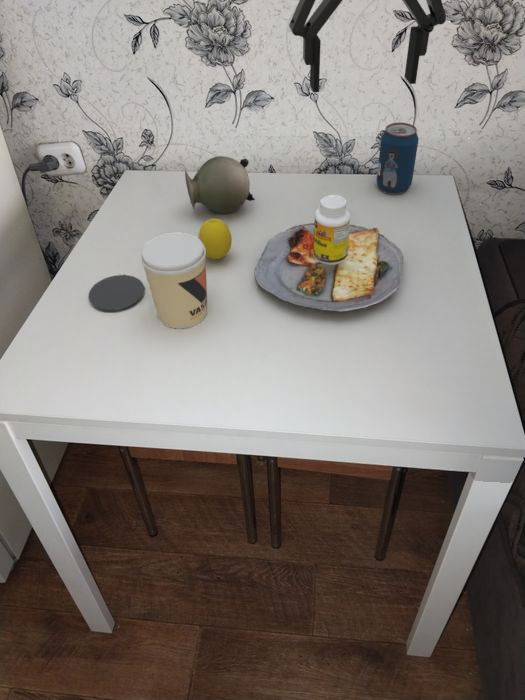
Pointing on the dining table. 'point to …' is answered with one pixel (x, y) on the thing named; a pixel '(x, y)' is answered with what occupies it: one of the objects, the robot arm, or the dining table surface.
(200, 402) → the dining table surface
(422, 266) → the dining table surface
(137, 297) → the slate coaster
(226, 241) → the lemon
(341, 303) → the food plate
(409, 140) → the soda can
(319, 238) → the supplement bottle
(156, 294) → the coffee cup
